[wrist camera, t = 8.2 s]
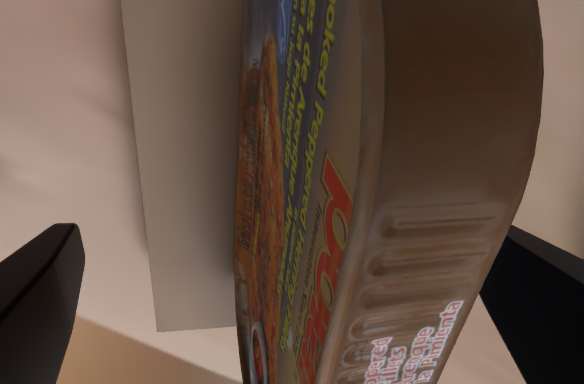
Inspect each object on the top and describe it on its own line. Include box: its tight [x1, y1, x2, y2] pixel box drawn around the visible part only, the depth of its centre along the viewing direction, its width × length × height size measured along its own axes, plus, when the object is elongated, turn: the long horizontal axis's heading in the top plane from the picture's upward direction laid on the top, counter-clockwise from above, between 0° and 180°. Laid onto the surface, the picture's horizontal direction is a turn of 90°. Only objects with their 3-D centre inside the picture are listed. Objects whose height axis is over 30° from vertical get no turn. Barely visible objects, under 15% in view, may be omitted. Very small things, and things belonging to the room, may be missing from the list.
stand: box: [120, 0, 245, 332], centre depth 14 cm, size 8×17×3 cm, turn 174°
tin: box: [234, 0, 544, 384], centre depth 10 cm, size 15×3×8 cm, turn 174°
